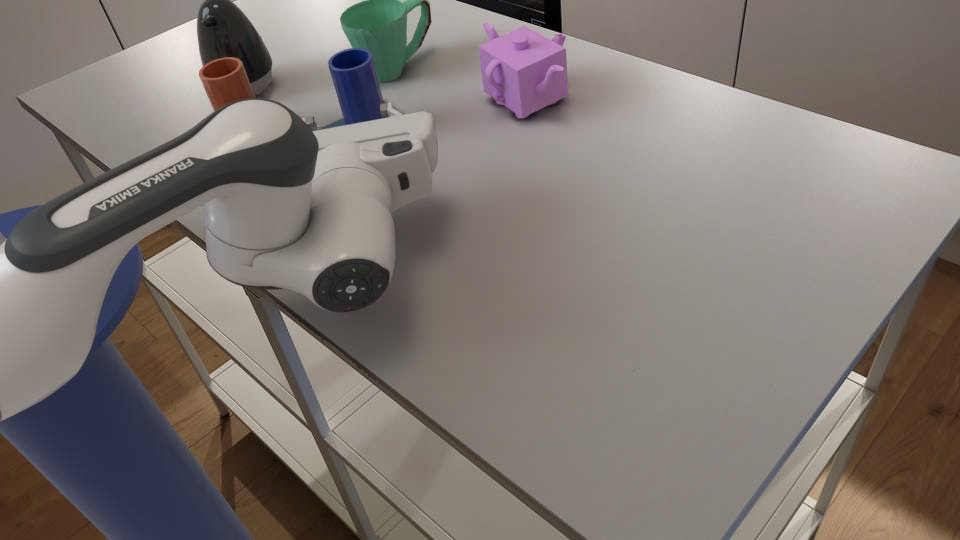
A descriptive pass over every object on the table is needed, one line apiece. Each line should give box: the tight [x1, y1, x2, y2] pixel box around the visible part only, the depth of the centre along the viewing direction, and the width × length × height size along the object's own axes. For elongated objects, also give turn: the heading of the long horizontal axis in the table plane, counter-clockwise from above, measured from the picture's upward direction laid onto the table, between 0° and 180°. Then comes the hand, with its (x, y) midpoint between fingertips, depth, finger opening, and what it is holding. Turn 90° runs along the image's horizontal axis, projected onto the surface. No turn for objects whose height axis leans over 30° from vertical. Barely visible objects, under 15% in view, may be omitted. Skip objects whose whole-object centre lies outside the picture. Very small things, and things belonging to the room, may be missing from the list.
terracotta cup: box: [198, 57, 257, 112], centre depth 105 cm, size 6×6×11 cm
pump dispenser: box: [196, 0, 273, 97], centre depth 114 cm, size 10×10×15 cm
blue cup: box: [327, 47, 385, 125], centre depth 102 cm, size 6×6×11 cm
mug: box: [339, 0, 432, 83], centre depth 115 cm, size 15×10×10 cm
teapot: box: [477, 22, 569, 119], centre depth 104 cm, size 18×13×10 cm
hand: (348, 114), depth 90 cm, fingers open, 8 cm apart
